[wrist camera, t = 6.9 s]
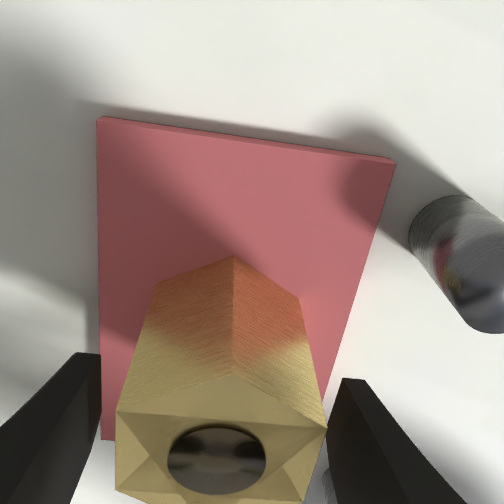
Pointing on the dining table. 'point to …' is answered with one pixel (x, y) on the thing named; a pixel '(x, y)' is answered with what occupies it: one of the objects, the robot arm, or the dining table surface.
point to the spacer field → (459, 265)
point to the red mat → (228, 228)
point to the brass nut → (220, 394)
